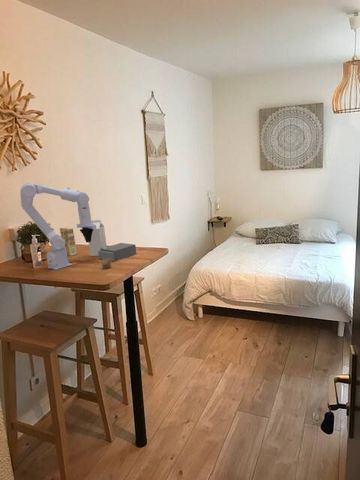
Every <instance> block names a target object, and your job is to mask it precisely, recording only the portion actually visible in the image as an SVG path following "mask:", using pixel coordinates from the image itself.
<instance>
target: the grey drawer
mask: <svg viewBox="0 0 360 480" xmlns="http://www.w3.org/2000/svg"><path fill="white" fill-rule="evenodd" d="M98 254H99V256H98V259H99V260H102V259H107V258H108V259H110V262H116V261H115V255H114V253H113V252H107V251H98Z"/></svg>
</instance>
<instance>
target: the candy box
mask: <svg viewBox="0 0 360 480" xmlns="http://www.w3.org/2000/svg"><path fill="white" fill-rule="evenodd" d="M59 232H60V234H59V235H60V236H61V237H62V238H63V239H64V241H65V247H66V251H67V256H75V255H78V251H77V245H76V239H75V232H74V228H73V227H69V226H67V227H66V226H65V227H60V228H59Z"/></svg>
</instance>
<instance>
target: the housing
mask: <svg viewBox="0 0 360 480" xmlns="http://www.w3.org/2000/svg"><path fill="white" fill-rule="evenodd" d="M100 251H107V252H113V253H114V255H115V261H114V262H116V261H120V260H122V259H126V258H129V257H132V256H135V255H137V246H136V244H134V243H125V242H119V243H115V244H112V245H109V246H107V247H105V248H101V249H100Z"/></svg>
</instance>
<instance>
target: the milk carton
mask: <svg viewBox="0 0 360 480" xmlns="http://www.w3.org/2000/svg"><path fill="white" fill-rule="evenodd" d="M91 222H92V223H93V224H94V225H96V229H94V230H93V232H92V237H91V242H88V247H89V254H90V257H99V254H98V251H100V249H101V248H105V247H108V246H107V238H106V232H105V226H104V225H103V223H102V222H101V219H95V220H91Z"/></svg>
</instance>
